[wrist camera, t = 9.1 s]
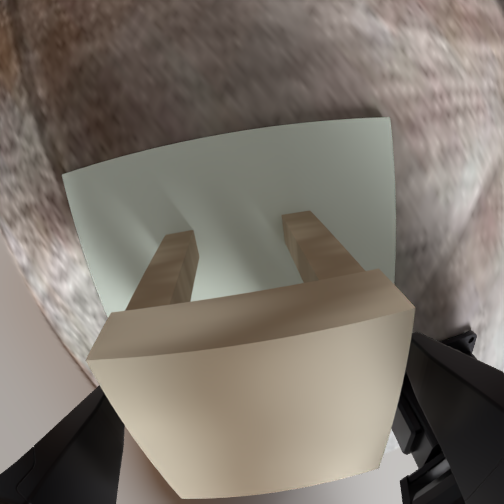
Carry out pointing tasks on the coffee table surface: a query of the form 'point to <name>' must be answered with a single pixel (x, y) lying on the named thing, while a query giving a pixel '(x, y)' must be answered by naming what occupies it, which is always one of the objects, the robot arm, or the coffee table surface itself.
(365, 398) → the stool
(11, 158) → the coffee table surface
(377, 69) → the coffee table surface
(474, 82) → the coffee table surface
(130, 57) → the coffee table surface
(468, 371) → the robot arm
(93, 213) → the mat
